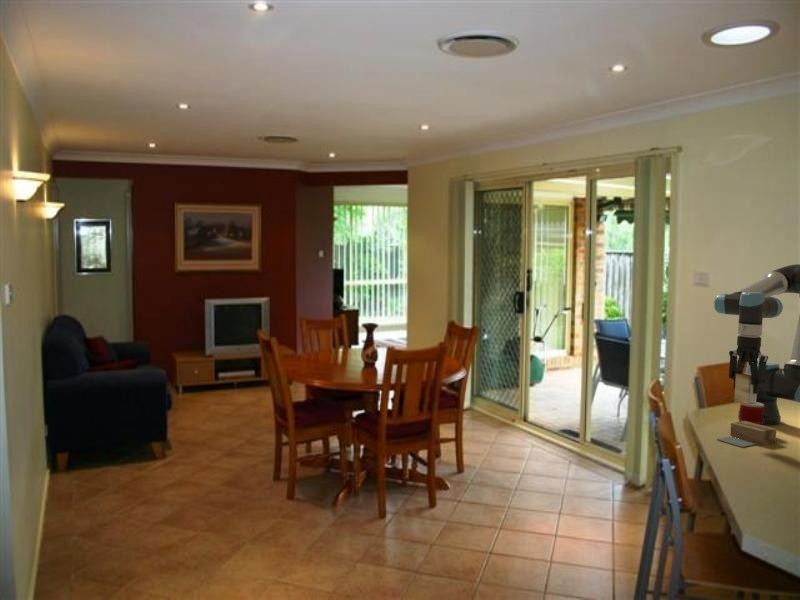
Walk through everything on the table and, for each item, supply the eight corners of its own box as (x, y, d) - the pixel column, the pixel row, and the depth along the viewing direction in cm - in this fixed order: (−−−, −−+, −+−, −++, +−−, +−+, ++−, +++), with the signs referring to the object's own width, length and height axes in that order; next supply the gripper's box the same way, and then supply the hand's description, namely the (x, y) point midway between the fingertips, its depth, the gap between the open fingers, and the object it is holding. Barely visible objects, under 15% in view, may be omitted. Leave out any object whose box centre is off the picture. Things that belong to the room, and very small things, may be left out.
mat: (731, 437, 245) (731, 436, 245) (756, 444, 237) (756, 443, 237) (716, 440, 242) (716, 439, 242) (742, 447, 233) (742, 446, 233)
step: (744, 434, 251) (745, 420, 250) (775, 442, 240) (776, 428, 240) (730, 436, 247) (731, 423, 246) (761, 445, 236) (762, 431, 236)
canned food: (765, 435, 249) (767, 406, 248) (741, 433, 251) (743, 404, 250) (758, 430, 257) (760, 401, 256) (736, 428, 258) (737, 400, 257)
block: (743, 400, 243) (744, 373, 242) (756, 403, 239) (757, 375, 238) (734, 401, 241) (735, 373, 240) (747, 404, 236) (748, 376, 235)
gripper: (719, 333, 244) (715, 396, 246) (767, 339, 228) (762, 407, 230) (733, 332, 247) (729, 394, 249) (780, 338, 232) (776, 405, 233)
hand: (745, 400), depth 240 cm, fingers closed on block, 5 cm apart
